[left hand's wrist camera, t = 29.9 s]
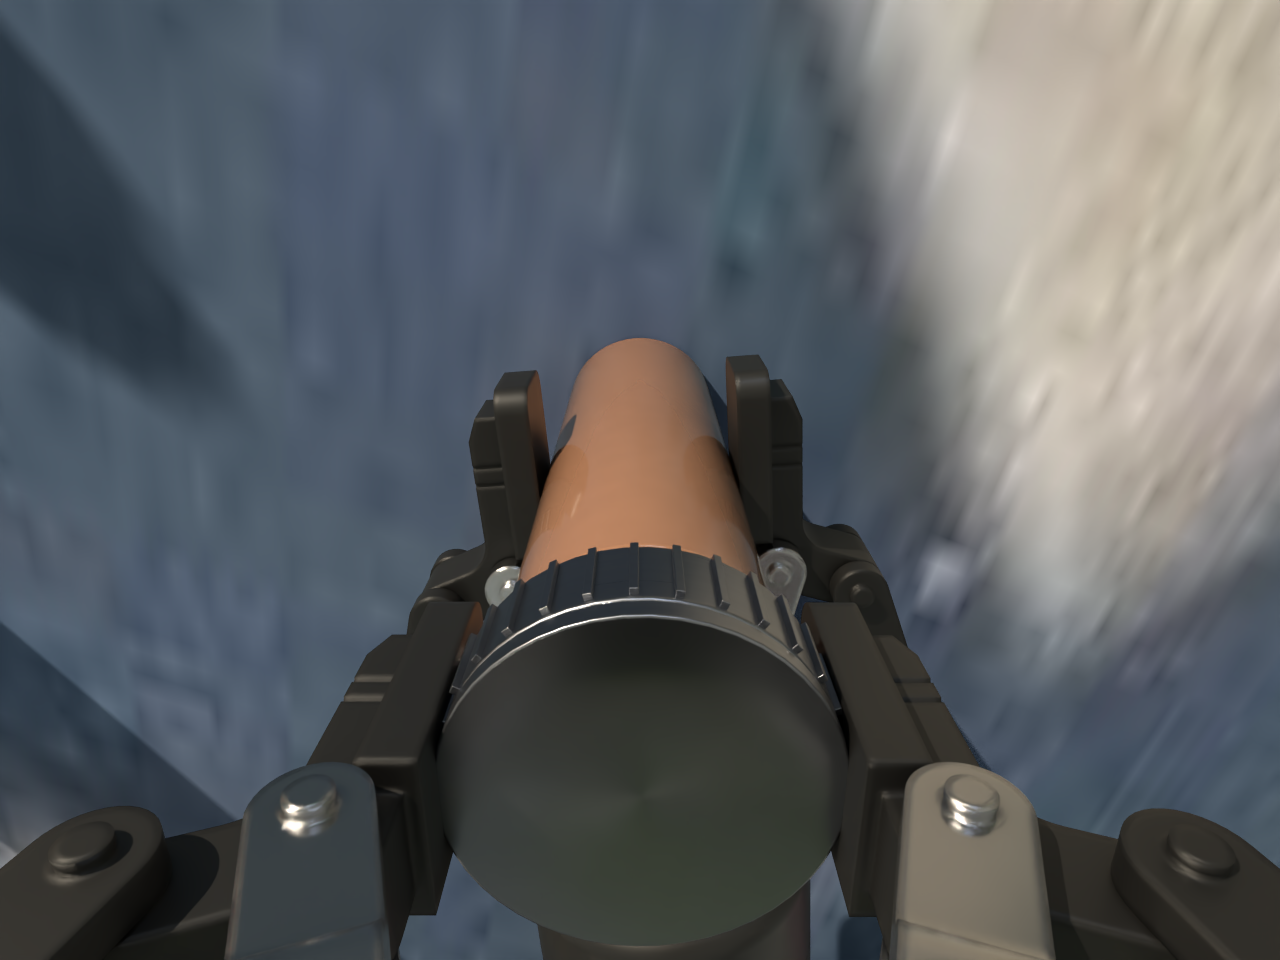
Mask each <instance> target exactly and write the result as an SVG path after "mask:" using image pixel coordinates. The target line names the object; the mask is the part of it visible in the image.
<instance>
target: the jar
mask: <svg viewBox="0 0 1280 960" xmlns="http://www.w3.org/2000/svg"><path fill="white" fill-rule="evenodd" d="M631 542H638V543H639V547H657V548H668V549H672V545H673V544H674V545H680V546H681V551H685V552H690V553H695V554H699V555H702V556H705V557H708V558H712V556H713V554H715V555H717V556H720V557H721V560H722V563H724V564H726V565H728V566H730V567H732V568H734V569H736V570H738V571H740V572H742V573H744V574H746V575H748V573H749V572H750V571H751V572H753V573H755V574H756V575H757V577H758V581H759V583H760V584H761V585H763V586H764V587H766V588H767V589H768V586H767V583H766V579H765V576H764V572H763V569H762V566H761V562H760V559H759V556H758V552H757V549H756V546H755V542H754V539H753V536H752V532H751V529H750V526H749V522H748V519H747V516H746V512H745V509H744V506H743V502H742V499H741V496H740V492H739V489H738V486H737V482H736V479H735V475H734V472H733V469H732V465H731V462H730V459H729V455H728V452H727V449H726V445H725V442H724V439H723V435H722V432H721V429H720V425H719V422H718V419H717V415H716V412H715V409H714V405H713V402H712V399H711V395H710V392H709V388H708V385H707V383H706V380H705V378H704V376H703V374H702V372H701V371H700V369H699V368H698V366H697V365H696V364H695V362H694V361H693V360H692V359H691V358H690V357H689V356H688V355H686V354H685V353H684V352H682V351H681V350H679V349H678V348H676V347H674V346H672V345H670V344H668V343H665V342H662V341H658V340H655V339H647V338H634V339H627V340H623V341H619V342H616V343H613V344H611V345H609V346H607V347H605V348H603V349H602V350H600V351H599V352H597V353H596V354H595V355H594V356H592V357H591V358H590V359H589V360H588V361H587V362H586V364H585V365H584V366H583V368H582V369H581V371H580V372H579V374H578V376H577V378H576V380H575V383H574V385H573V389H572V392H571V396H570V399H569V402H568V406H567V409H566V413H565V416H564V420H563V423H562V427H561V430H560V433H559V437H558V440H557V444H556V447H555V451H554V454H553V458H552V461H551V464H550V468H549V471H548V475H547V478H546V482H545V485H544V488H543V492H542V495H541V499H540V502H539V506H538V509H537V513H536V516H535V519H534V523H533V526H532V530H531V533H530V537H529V540H528V544H527V547H526V550H525V554H524V557H523V561H522V564H521V568H520V571H519V575H518V578H517V581H519V580H520V579H522V580H523V581H524V582H527V581H528V580H529V579H531V578H533V577H534V576H536V575H538V574H540V573H542V572H543V571H545V570H547V569H548V566H549V562H551V561H554V560H557V561H558V563H559V564H560V563H562V562H565V561H567V560H570V559H572V558H575V557H578V556H582V555H586V554H588V549H589V548H594V547H596V548H597V551H602V550H609V549H616V548H623V547H630V543H631ZM517 581H516V582H517ZM768 590H769V589H768Z"/></svg>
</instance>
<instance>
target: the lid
mask: <svg viewBox="0 0 1280 960" xmlns="http://www.w3.org/2000/svg"><path fill="white" fill-rule="evenodd" d="M449 693H451V694H452V697H451V700H450V703H449V706H448V708H447V711H446V714H445V717H444V720H443V729H442V732H441V735H440V738H439V741H438V744H437V748H436V768H437V777H438V786H439V794H440V803H441V812H442V820H443V828H444V835H445V837H446V839H447V841H448V843H449V845H450V847H451V849H452V851H453V852H454V854H455V855H456V857H457V858H458V860H459V861H460V863H461V864H462V865H463V867H464V868H465V870H466V871H467V872H468V873H469V874H470V875H471V876H472V877H473V879H474V880H475V881H476V882H477V883H478V884H479V885H480V886H481V887H482V888H483V889H484V890H486V891H487V892H488V893H489V894H490V895H491V896H493V897H494V898H495V899H496V900H497V901H499V902H500V903H502V904H503V905H505V906H506V907H508V908H509V909H511V910H512V911H514V912H515V913H517V914H519V915H521V916H522V917H524V918H526V919H528V920H530V921H532V922H534V923H536V924H538V925H540V926H543V927H546V928H548V929H551V930H553V931H556V932H558V933H561V934H565V935H568V936H572V937H575V938H579V939H583V940H587V941H593V942H599V943H605V944H612V945H625V946H661V945H670V944H678V943H685V942H690V941H695V940H700V939H704V938H709V937H712V936H715V935H718V934H721V933H724V932H728V931H731V930H733V929H735V928H738V927H740V926H742V925H745V924H747V923H749V922H751V921H754V920H755V919H757V918H759V917H761V916H762V915H764V914H766V913H768V912H769V911H771V910H773V909H774V908H776V907H777V906H779V905H780V904H781V903H783V902H784V901H785V900H787V899H788V898H790V897H791V896H792V895H793V894H795V893H796V892H797V891H798V890H799V889H800V888H801V887H802V886H803V885H804V884H805V883H806V882H807V881H808V880H809V879H810V878H811V877H812V876H813V875H814V873H815V872H816V871H817V870H818V869H819V867H820V866H821V865H822V864H823V863H824V861H825V859H826V858H827V856H828V854H829V853H830V851H831V850H832V848H833V846H834V845H835V843H836V841H837V838H838V836H839V834H840V831H841V825H842V817H843V809H844V800H845V792H846V783H847V775H848V764H849V753H848V749H847V745H846V741H845V737H844V734H843V731H842V728H841V725H840V722H839V720H838V718H837V716H841V715H842V714H843V711H842V708H841V705H840V702H839V699H838V697H837V694H836V691H835V689H834V686H833V683H832V680H831V678H830V675H829V672H828V670H827V667H826V664H825V661H824V659H823V656H822V653H818V651H817V648H816V645H815V642H814V640H813V637H812V634H811V631H810V629H809V627H808V625H807V623H806V622H804V623H802V624H799V622H798V621H797V619H796V618H795V617H794V616H793V614H792V613H791V610H790V607H789V605H788V602H787V599H786V598H785V597H784V596H783V595H782V594H781V595H780V596H778V597H776V596H775V595H773V594H772V593H771V592H770V591H769V590H768V589H767V588H766V587H764V586H763V585H761V584H760V583H759V581H758V577H757V575H756V574H755V573H753V572H751V571H750V572H749V573H748V575H746V574H744V573H742V572H740V571H738V570H736V569H734V568H732V567H730V566H728V565H726V564H724V563H722V560H721V557H720V556H717V555H715V554H713V556H712V558H708V557H705V556H702V555H699V554H695V553H690V552H685V551H681V546H680V545H674V544H673V545H672V549H668V548H657V547H639V543H638V542H631V543H630V547H623V548H616V549H609V550H602V551H597V548H596V547H594V548H589V549H588V554H586V555H582V556H578V557H575V558H572V559H570V560H567V561H565V562H562V563H560V564H559V563H558V561H557V560H554V561H551V562H549V566H548V569H547V570H545V571H543V572H542V573H540V574H538V575H536V576H534V577H533V578H531V579H529V580H528V581H527V582H524V581H523V580H522V579H520V580H519V581H517V582H516V583H515V586H514V589H513V592H512V593H511V594H510V595H509V596H508V597H507V598H506V599H505V600H504V601H503V602H502V603H501V604H500V605H499V606H498V607H497V606H495V605H494V604H492V605H491V606H490V607H489V608H488V610H487V613H486V616H485V619H484V622H483V625H482V627H481V629H480V631H479V633H478V634H477V635H475V634H473V633H471V634H470V636H469V638H468V640H467V643H466V646H465V649H464V652H463V654H462V657H461V660H460V663H459V666H458V668H457V671H456V674H455V677H454V680H453V683H452V685H451V688H450V691H449Z"/></svg>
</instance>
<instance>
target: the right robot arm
mask: <svg viewBox="0 0 1280 960" xmlns="http://www.w3.org/2000/svg"><path fill="white" fill-rule="evenodd" d="M726 389H727V416H728V444H729V459H730V462H731V465H732V469H733V472H734V475H735V479H736V482H737V486H738V489H739V492H740V496H741V499H742V502H743V506H744V509H745V512H746V516H747V519H748V522H749V526H750V529H751V532H752V536H753V539H754V542H755V546H756V549H757V552H758V556H759V559H760V562H761V566H762V569H763V572H764V576H765V579H766V583H767V586H768V589H769V591H770V592H771V593H772V594H773V595H775V596H776V597H778V596H780V595H781V594H782V595H783V596H784V597H785V598H786V599H787V602H788V605H789V607H790V610H791V613H792V614H793V616H794V613H795V610H796V607H797V604H798V601H799V598H800V595H803V596H807V597H811V598H815V599H819V600H823V601H827V602H853V603H856V605H857V606H858V608H859V610H860V612H861V614H862V616H863V618H864V620H865V622H866V624H867V626H868V629H869V631H870V633H871V635H892V636H894V637H895V638H896V639H897V640H899V641H900V642H901V643H903V644H904V645H905V646H906V647H907V644H906V640H905V637H904V634H903V631H902V628H901V625H900V622H899V619H898V615H897V612H896V609H895V606H894V603H893V600H892V597H891V594H890V590H889V587H888V585H887V582H886V581H885V579H884V577H883V575H882V574H881V572H880V570H879V568H878V567H877V565H876V563H875V562H874V560H873V558H872V556H871V555H870V553H869V551H868V550H867V548H866V546H865V544H864V543H863V541H862V539H861V538H860V536H859V534H858V533H857V531H855V530H854V529H853V528H852V527H850V526H848V525H844V524H833V525H830V526H827V527H823V526H819V525H815V524H812V523H809V522H807V521H805V520H804V519H803V509H802V417H801V415H800V413H799V410H798V408H797V406H796V403H795V401H794V399H793V396H792V395H791V393H790V392H789V390H788V389H787V387H786V386H785V384H784V382H783V381H782V379H778V380H769V374H768V370H767V368H766V366H765V365H764V363H763V361H762V360H761V358H760V356H759V355H746V356H733V357H727V358H726ZM469 447H470V453H471V459H472V466H473V468H474V470H473V472H474V478H475V484H476V490H477V496H478V502H479V509H480V515H481V521H482V527H483V533H484V539H485V543H483V544H482V545H480V546H478V547H476V548H473V549H471V550H469V551H466V550H462V549H452V550H448V551H446V552H444V553H442V554H441V555H440V556H439V557H438V559H437V560H436V562H435V564H434V566H433V568H432V570H431V574H430V579H429V581H428V583H427V585H426V587H425V589H424V591H423V593H422V594H421V595H420V596H419V597H418V598H417V600H416V602H415V604H414V606H413V608H412V610H411V612H410V616H409V622H408V629H407V635H413V633H414V631H415V629H416V627H417V625H418V623H419V621H420V618H421V616H422V614H423V612H424V610H425V608H426V606H427V604H428V603H429V602H479V603H480V605H481V609H482V615H483V620H484V619H485V616H486V613H487V610H488V608H489V607H490V606H491V605H492V604H494V605H495V606H497V607H498V606H499V605H500V604H501V603H502V602H503V601H504V600H505V599H506V598H507V597H508V596H509V595H510V594H511V593H512V592H513V589H514V586H515V583H516V581H517V578H518V575H519V571H520V568H521V564H522V561H523V557H524V554H525V550H526V547H527V544H528V540H529V537H530V533H531V530H532V526H533V523H534V519H535V516H536V513H537V509H538V506H539V502H540V499H541V495H542V492H543V488H544V485H545V482H546V478H547V475H548V471H549V468H550V458H549V450H548V442H547V434H546V426H545V418H544V410H543V402H542V394H541V386H540V380H539V375H538V372H537V371H536V370H534V371H521V372H508V373H504V375H503V376H502V378H501V380H500V381H499V383H498V384H497V386H496V388H495V390H494V400H486V402H485V403H484V405H483V407H482V408H481V410H480V411H479V413H478V414H477V416H476V418H475V420H474V424H473V428H472V432H471V436H470V440H469ZM537 925H538V924H537ZM538 931H539V937H540V943H541V949H542V954H543V960H810V879H809V880H808V881H807V882H806V883H805V884H804V885H803V886H802V887H801V888H800V889H799V890H798V891H797V892H796V893H795V894H793V895H792V896H791V897H790V898H788V899H787V900H785V901H784V902H783V903H781V904H780V905H779V906H777V907H776V908H774V909H773V910H771V911H769V912H768V913H766V914H764V915H762V916H761V917H759V918H757V919H755V920H754V921H751V922H749V923H747V924H745V925H742V926H740V927H738V928H735V929H733V930H731V931H728V932H724V933H721V934H718V935H715V936H712V937H709V938H704V939H700V940H695V941H690V942H685V943H678V944H670V945H661V946H625V945H612V944H605V943H599V942H593V941H587V940H583V939H579V938H575V937H572V936H568V935H565V934H561V933H558V932H556V931H553V930H551V929H548V928H546V927H543V926H540V925H538Z"/></svg>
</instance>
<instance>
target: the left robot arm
mask: <svg viewBox="0 0 1280 960" xmlns="http://www.w3.org/2000/svg"><path fill="white" fill-rule="evenodd" d="M804 622H806V623H807V625H808V627H809V629H810V631H811V634H812V637H813V640H814V642H815V645H816V648H817V651H818V653H822V656H823V659H824V661H825V664H826V667H827V670H828V672H829V675H830V678H831V680H832V683H833V686H834V689H835V691H836V694H837V697H838V699H839V702H840V705H841V708H842V711H843V714H842V715H841V716H837V718H838V720H839V722H840V725H841V728H842V731H843V734H844V737H845V741H846V745H847V749H848V753H849V764H848V775H847V783H846V792H845V800H844V809H843V817H842V825H841V831H840V834H839V836H838V838H837V841H836V843H835V845H834V846H833V848H832V850H831V852H832V856H833V859H834V863H835V866H836V870H837V874H838V877H839V881H840V885H841V888H842V892H843V896H844V899H845V903H846V906H847V910H848V914H849V917H877V919H878V923H879V926H880V929H881V932H882V936H883V939H882V946H881V952H880V959H879V960H1280V869H1279V868H1278V867H1277V866H1276V865H1274V864H1273V863H1272V862H1271V861H1270V860H1268V859H1267V858H1266V857H1265V856H1263V855H1262V854H1261V853H1260V852H1259V851H1257V850H1256V849H1255V848H1254V847H1253V846H1251V845H1250V844H1249V843H1247V842H1246V841H1245V840H1243V839H1242V838H1241V837H1239V836H1238V835H1236V834H1234V833H1233V832H1231V831H1230V830H1228V829H1226V828H1224V827H1222V826H1220V825H1218V824H1216V823H1214V822H1212V821H1210V820H1207V819H1205V818H1202V817H1199V816H1196V815H1193V814H1190V813H1186V812H1182V811H1178V810H1171V809H1146V810H1141V811H1138V812H1135V813H1133V814H1132V815H1130V816H1129V817H1128V818H1127V819H1126V820H1125V821H1124V823H1123V825H1122V828H1121V831H1120V834H1119V838H1118V839H1115V838H1111V837H1106V836H1102V835H1098V834H1094V833H1089V832H1085V831H1081V830H1077V829H1072V828H1068V827H1064V826H1061V825H1057V824H1054V823H1050V822H1048V821H1045V820H1043V819H1040V818H1038V817H1037V816H1036V812H1035V810H1034V808H1033V806H1032V804H1031V803H1030V801H1029V800H1028V799H1027V797H1026V796H1025V795H1024V794H1023V793H1022V792H1021V791H1020V790H1019V789H1018V788H1017V787H1015V786H1014V785H1013V784H1012V783H1010V782H1009V781H1007V780H1006V779H1004V778H1002V777H1001V776H999V775H997V774H995V773H993V772H991V771H988V770H986V769H983V768H980V766H979V765H978V763H977V761H976V759H975V757H974V756H973V754H972V752H971V750H970V749H969V747H968V745H967V743H966V741H965V740H964V738H963V736H962V734H961V732H960V731H959V729H958V727H957V725H956V723H955V722H954V720H953V718H952V716H951V714H950V713H949V711H948V709H947V707H946V706H945V704H944V703H942V702H941V697H940V695H939V693H938V691H937V689H936V688H935V686H934V684H933V683H931V682H930V677H929V675H928V673H927V671H926V670H925V668H924V666H923V664H922V662H921V661H920V659H919V657H918V655H916V654H915V653H914V652H913V651H911V650H910V649H909V648H908V647H906V646H905V645H904V644H903V643H901V642H900V641H899V640H897V639H896V638H895V637H894V636H892V635H871V633H870V631H869V629H868V626H867V624H866V622H865V620H864V618H863V616H862V614H861V612H860V610H859V608H858V606H857V605H856V603H853V602H806V603H805V604H804V606H803V610H802V616H801V624H802V623H804ZM482 625H483V615H482V609H481V605H480V603H479V602H429V603H428V604H427V606H426V608H425V610H424V612H423V614H422V616H421V618H420V621H419V623H418V625H417V627H416V629H415V631H414V633H413V635H391V636H390V637H389V638H387V639H386V640H385V641H383V642H382V643H381V644H380V645H378V646H377V647H376V648H375V649H373V650H372V651H371V652H370V653H368V654H367V656H366V657H365V659H364V661H363V663H362V665H361V667H360V668H359V670H358V672H357V674H356V676H355V677H354V678H355V680H354V682H352V683H351V685H350V687H349V688H348V690H347V692H346V694H345V696H344V702H341V703H340V705H339V707H338V708H337V710H336V712H335V714H334V716H333V717H332V719H331V721H330V723H329V725H328V727H327V728H326V730H325V732H324V734H323V736H322V738H321V739H320V741H319V743H318V745H317V747H316V748H315V750H314V752H313V754H312V756H311V758H310V759H309V761H308V763H307V765H306V766H303V767H300V768H297V769H294V770H292V771H289V772H287V773H285V774H283V775H281V776H279V777H278V778H276V779H274V780H273V781H271V782H270V783H268V784H267V785H266V786H265V787H263V788H262V789H261V790H260V791H259V792H258V793H257V794H256V795H255V796H254V797H253V799H252V800H251V801H250V803H249V804H248V806H247V808H246V810H245V812H244V816H243V819H240V820H237V821H235V822H231V823H228V824H224V825H220V826H216V827H212V828H208V829H204V830H199V831H195V832H191V833H187V834H182V835H178V836H174V837H170V838H165V836H164V833H163V829H162V825H161V823H160V821H159V819H158V818H157V817H156V815H155V814H153V813H152V812H150V811H148V810H146V809H143V808H140V807H133V806H116V807H108V808H103V809H99V810H94V811H91V812H88V813H85V814H82V815H79V816H77V817H75V818H72V819H70V820H68V821H66V822H64V823H62V824H60V825H58V826H56V827H54V828H53V829H51V830H49V831H48V832H46V833H45V834H43V835H42V836H40V837H39V838H38V839H36V840H35V841H34V842H32V843H31V844H30V845H29V846H27V847H26V848H25V849H24V850H23V851H21V852H20V853H19V854H18V855H17V856H15V857H14V858H13V859H12V860H10V861H9V862H8V863H7V864H6V865H4V866H3V867H2V868H1V869H0V960H401V959H400V952H399V946H400V943H401V940H402V937H403V933H404V930H405V927H406V923H407V920H408V917H409V915H436V913H437V910H438V906H439V902H440V899H441V895H442V891H443V887H444V884H445V880H446V876H447V873H448V869H449V865H450V861H451V858H452V854H453V851H452V849H451V847H450V845H449V843H448V841H447V839H446V837H445V835H444V828H443V820H442V812H441V803H440V794H439V786H438V777H437V768H436V748H437V744H438V741H439V738H440V735H441V732H442V729H443V720H444V717H445V714H446V711H447V708H448V706H449V703H450V700H451V697H452V694H451V693H449V691H450V688H451V685H452V683H453V680H454V677H455V674H456V671H457V668H458V666H459V663H460V660H461V657H462V654H463V652H464V649H465V646H466V643H467V640H468V638H469V636H470V634H471V633H473V634H475V635H477V634H478V633H479V631H480V629H481V627H482Z"/></svg>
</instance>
